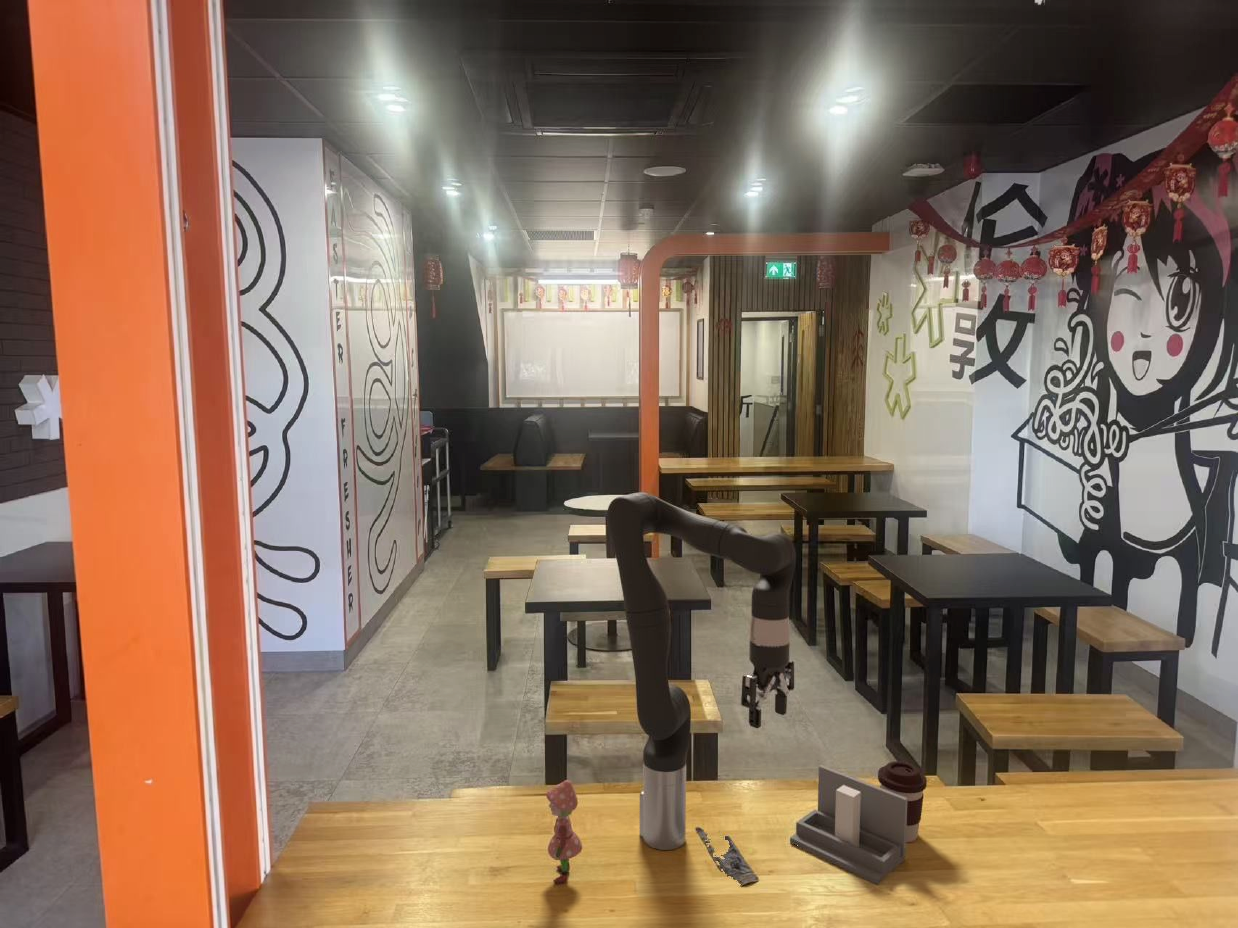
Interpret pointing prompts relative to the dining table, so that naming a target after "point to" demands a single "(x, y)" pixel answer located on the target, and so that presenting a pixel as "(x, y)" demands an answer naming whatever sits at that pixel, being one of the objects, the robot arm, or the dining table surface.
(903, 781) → the coffee cup
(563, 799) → the cartoon character
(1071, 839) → the dining table surface
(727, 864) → the driftwood
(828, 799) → the grey desk organizer
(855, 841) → the clay bar
